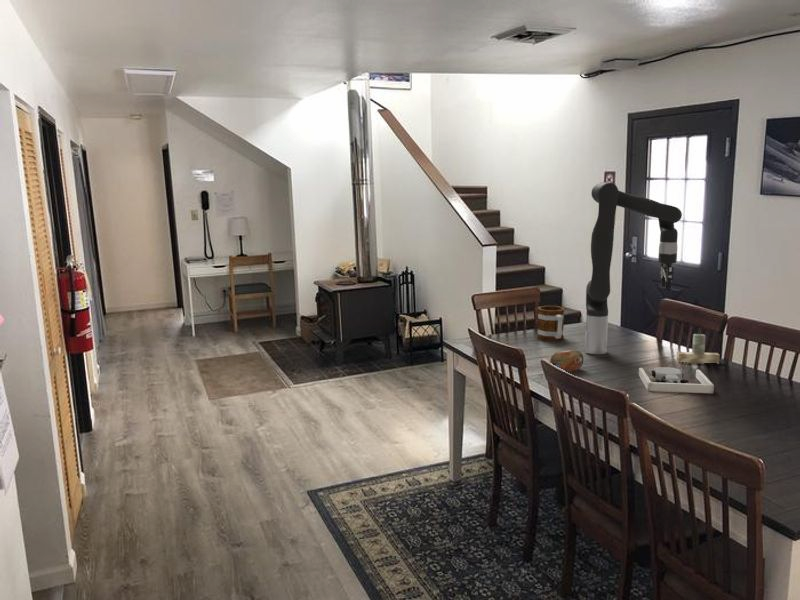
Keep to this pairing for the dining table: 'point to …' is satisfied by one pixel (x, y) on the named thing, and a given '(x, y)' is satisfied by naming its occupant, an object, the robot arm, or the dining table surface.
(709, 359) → the scraper
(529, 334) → the dining table surface
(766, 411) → the dining table surface
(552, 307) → the mug
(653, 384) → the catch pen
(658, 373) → the robot toy
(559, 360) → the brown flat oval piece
